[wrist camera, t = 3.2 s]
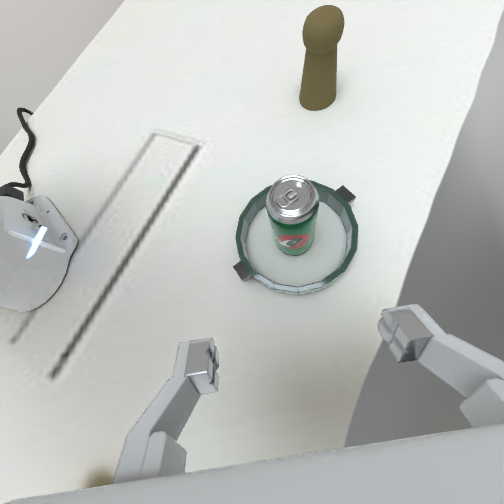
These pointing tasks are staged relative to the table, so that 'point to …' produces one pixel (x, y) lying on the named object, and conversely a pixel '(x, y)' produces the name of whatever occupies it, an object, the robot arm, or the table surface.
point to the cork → (321, 57)
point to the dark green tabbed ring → (333, 198)
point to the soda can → (293, 213)
